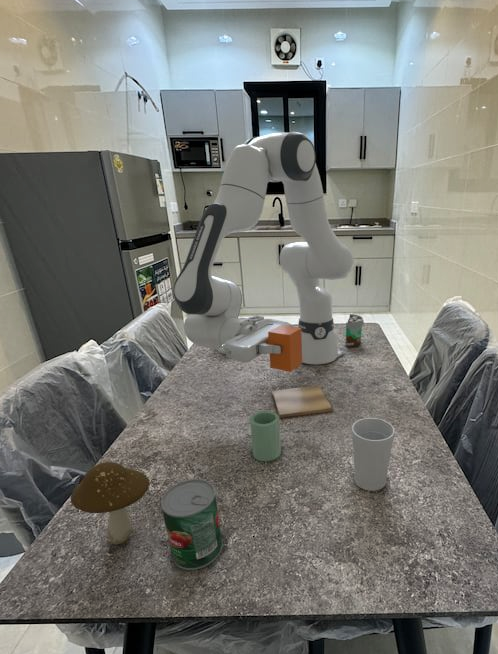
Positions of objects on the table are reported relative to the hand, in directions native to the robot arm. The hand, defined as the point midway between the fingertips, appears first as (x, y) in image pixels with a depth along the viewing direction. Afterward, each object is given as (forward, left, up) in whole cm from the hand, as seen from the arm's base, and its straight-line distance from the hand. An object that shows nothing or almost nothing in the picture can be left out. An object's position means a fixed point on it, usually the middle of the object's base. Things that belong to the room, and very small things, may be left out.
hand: (289, 344), depth 89 cm
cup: (+26, +11, -21) cm, 35 cm away
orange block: (-1, -1, -5) cm, 6 cm away
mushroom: (+30, -34, -21) cm, 50 cm away
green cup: (+12, -8, -21) cm, 25 cm away
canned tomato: (+35, -22, -21) cm, 46 cm away
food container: (-50, +34, -21) cm, 64 cm away
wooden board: (-9, +4, -21) cm, 23 cm away
